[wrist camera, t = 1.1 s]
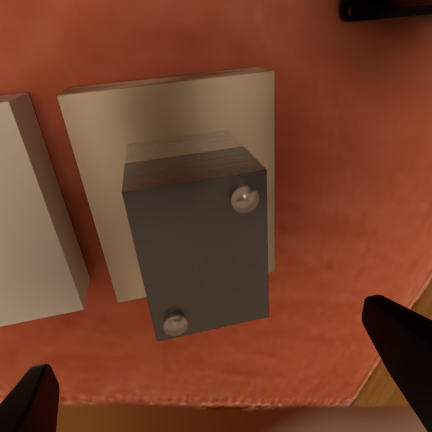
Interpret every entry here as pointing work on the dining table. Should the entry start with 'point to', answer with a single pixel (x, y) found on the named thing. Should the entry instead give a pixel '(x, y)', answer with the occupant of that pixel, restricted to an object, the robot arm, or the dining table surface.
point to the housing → (198, 231)
